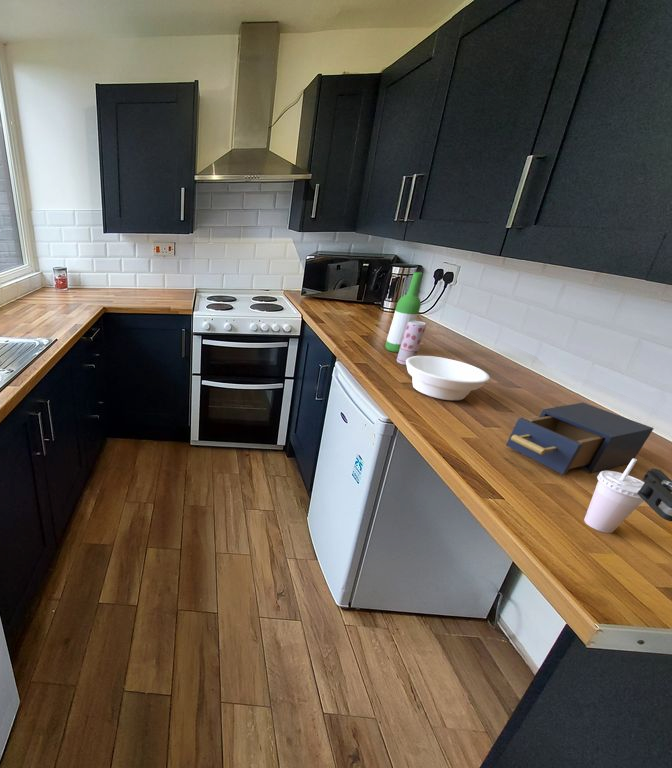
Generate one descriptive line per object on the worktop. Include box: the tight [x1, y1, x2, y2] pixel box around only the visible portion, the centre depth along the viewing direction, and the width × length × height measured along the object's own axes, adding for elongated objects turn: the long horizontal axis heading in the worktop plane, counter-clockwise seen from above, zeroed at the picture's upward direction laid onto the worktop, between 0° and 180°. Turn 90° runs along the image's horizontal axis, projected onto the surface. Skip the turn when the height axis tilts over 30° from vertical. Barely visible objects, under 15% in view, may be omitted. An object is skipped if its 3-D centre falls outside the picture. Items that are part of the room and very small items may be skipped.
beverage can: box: [396, 320, 427, 366], centre depth 142 cm, size 6×6×15 cm
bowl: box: [405, 355, 491, 401], centre depth 120 cm, size 21×21×8 cm
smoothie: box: [583, 457, 645, 534], centre depth 69 cm, size 6×6×14 cm
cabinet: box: [538, 402, 654, 474], centre depth 92 cm, size 15×13×9 cm
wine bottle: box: [384, 271, 423, 354], centre depth 152 cm, size 8×8×30 cm
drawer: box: [505, 416, 606, 475], centre depth 88 cm, size 18×11×7 cm, turn 108°
